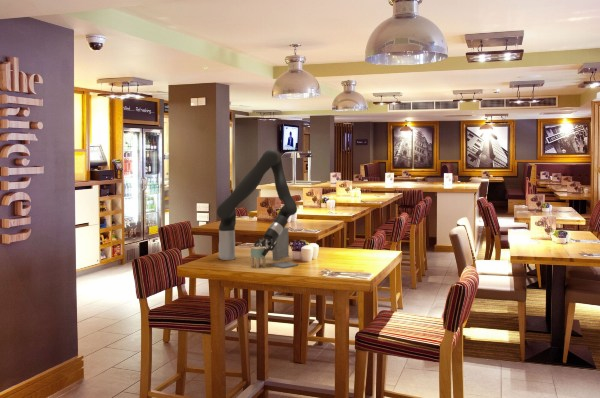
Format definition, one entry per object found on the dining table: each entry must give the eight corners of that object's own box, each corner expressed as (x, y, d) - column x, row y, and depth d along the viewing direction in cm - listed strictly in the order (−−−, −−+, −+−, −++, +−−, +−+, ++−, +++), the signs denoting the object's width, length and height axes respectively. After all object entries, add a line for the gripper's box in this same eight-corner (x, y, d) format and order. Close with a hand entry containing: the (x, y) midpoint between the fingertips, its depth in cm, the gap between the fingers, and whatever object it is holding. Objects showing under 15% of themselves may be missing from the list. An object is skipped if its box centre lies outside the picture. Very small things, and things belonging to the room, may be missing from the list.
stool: (251, 266, 342) (250, 247, 342) (259, 265, 346) (258, 246, 345) (257, 268, 338) (257, 248, 337) (265, 266, 342) (265, 247, 341)
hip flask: (276, 260, 360) (275, 226, 359) (270, 259, 362) (269, 226, 361) (289, 256, 374) (289, 223, 373) (283, 255, 376) (283, 222, 375)
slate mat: (270, 265, 345) (270, 264, 345) (285, 263, 352) (285, 261, 352) (283, 268, 337) (283, 266, 336) (298, 265, 344) (298, 264, 344)
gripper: (262, 226, 352) (246, 248, 345) (278, 228, 341) (262, 251, 334) (269, 234, 356) (254, 257, 349) (285, 237, 345) (270, 260, 338)
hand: (258, 254), depth 342 cm, fingers open, 8 cm apart
